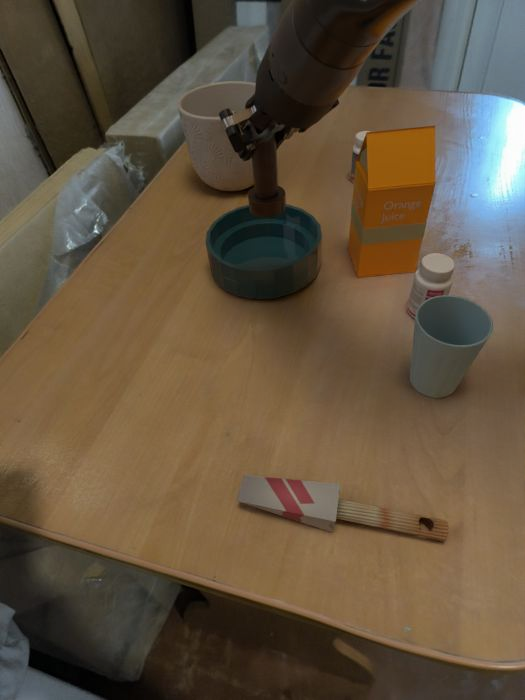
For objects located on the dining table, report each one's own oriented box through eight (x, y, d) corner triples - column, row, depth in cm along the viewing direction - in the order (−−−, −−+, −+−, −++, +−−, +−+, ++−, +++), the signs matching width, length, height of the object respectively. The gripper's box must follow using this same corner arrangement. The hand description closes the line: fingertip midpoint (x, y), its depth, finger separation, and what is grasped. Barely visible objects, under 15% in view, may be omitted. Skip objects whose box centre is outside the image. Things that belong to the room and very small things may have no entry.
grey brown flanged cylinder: (284, 196, 61) (282, 110, 53) (286, 216, 58) (284, 127, 49) (249, 199, 61) (241, 113, 53) (249, 218, 58) (240, 130, 50)
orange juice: (415, 272, 69) (446, 139, 54) (357, 278, 69) (372, 146, 54) (401, 242, 74) (426, 112, 59) (347, 247, 74) (358, 119, 59)
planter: (266, 154, 97) (261, 75, 86) (285, 193, 86) (283, 108, 75) (188, 167, 96) (172, 88, 84) (197, 209, 84) (181, 124, 73)
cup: (390, 361, 58) (405, 300, 50) (448, 351, 58) (471, 289, 50) (413, 410, 53) (433, 351, 45) (476, 399, 53) (507, 339, 45)
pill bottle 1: (376, 185, 86) (382, 140, 80) (351, 186, 86) (355, 142, 80) (373, 172, 89) (378, 129, 83) (348, 174, 89) (352, 130, 83)
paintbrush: (244, 463, 46) (449, 506, 43) (245, 475, 48) (441, 517, 45) (233, 499, 44) (450, 548, 40) (235, 510, 46) (442, 557, 42)
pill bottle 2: (420, 327, 61) (434, 279, 55) (399, 306, 64) (410, 257, 58) (449, 316, 62) (466, 267, 56) (427, 295, 65) (441, 246, 59)
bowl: (315, 231, 77) (316, 199, 73) (325, 299, 66) (326, 266, 61) (215, 237, 78) (210, 206, 74) (207, 305, 67) (201, 273, 62)
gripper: (362, 2, 41) (293, 105, 57) (220, 34, 37) (190, 134, 53) (392, 84, 41) (315, 162, 58) (256, 124, 37) (215, 195, 54)
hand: (255, 148), depth 55 cm, fingers closed on grey brown flanged cylinder, 3 cm apart
